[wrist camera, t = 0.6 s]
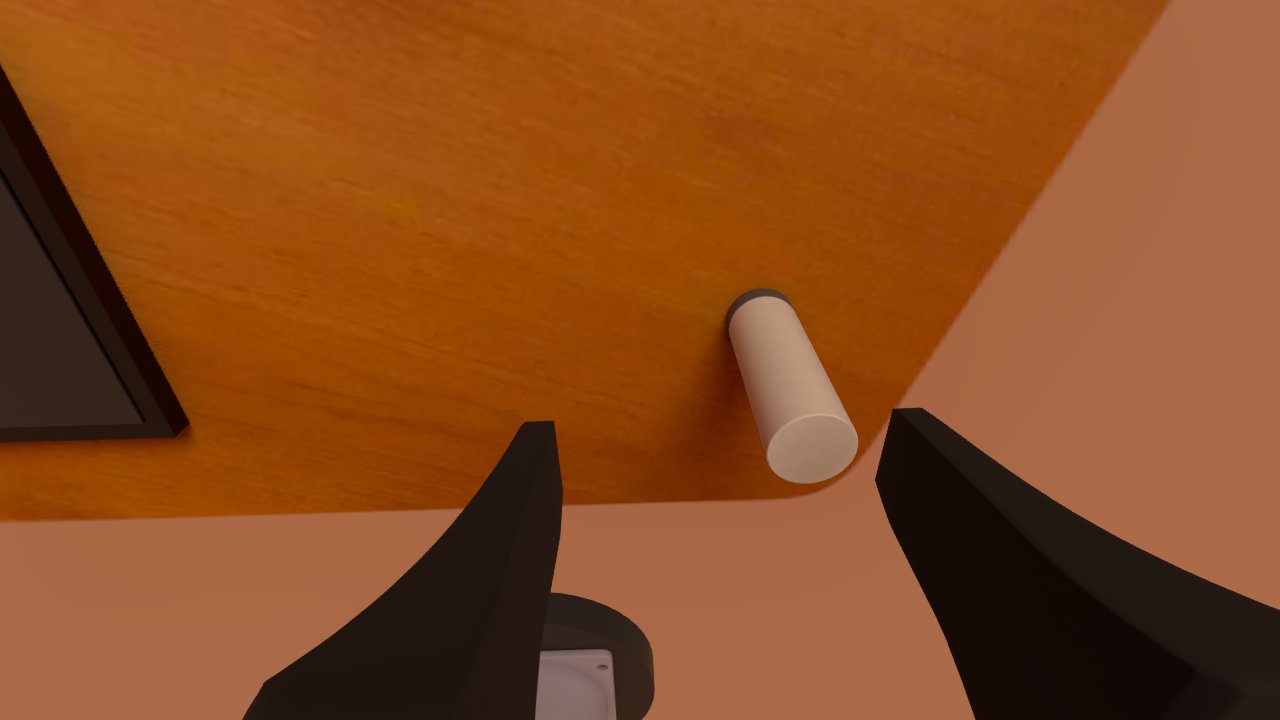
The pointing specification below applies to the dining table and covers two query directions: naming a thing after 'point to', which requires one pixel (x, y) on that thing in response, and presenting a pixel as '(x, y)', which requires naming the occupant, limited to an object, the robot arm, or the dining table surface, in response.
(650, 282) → the dining table surface
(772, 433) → the beige cylinder
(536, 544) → the robot arm
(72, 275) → the tablet
